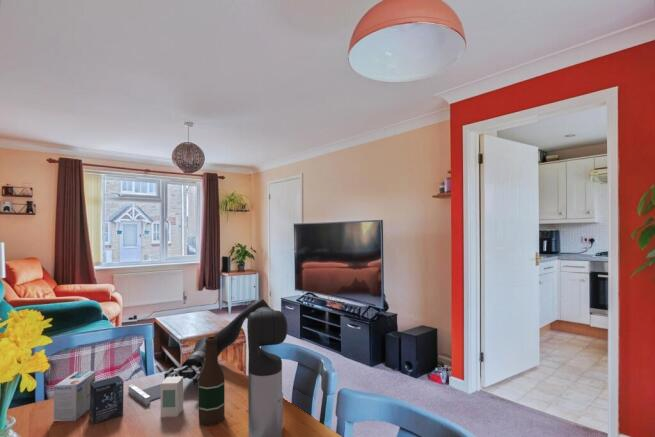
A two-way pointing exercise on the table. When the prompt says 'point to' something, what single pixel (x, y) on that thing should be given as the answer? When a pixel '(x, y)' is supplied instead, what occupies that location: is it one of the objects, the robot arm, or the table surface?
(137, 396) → the rail
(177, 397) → the carton
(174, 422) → the table surface
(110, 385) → the box
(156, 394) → the shelf mat
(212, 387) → the beer bottle
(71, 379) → the light bulb box
